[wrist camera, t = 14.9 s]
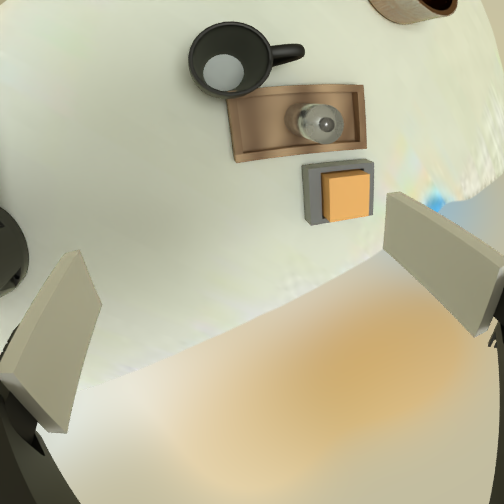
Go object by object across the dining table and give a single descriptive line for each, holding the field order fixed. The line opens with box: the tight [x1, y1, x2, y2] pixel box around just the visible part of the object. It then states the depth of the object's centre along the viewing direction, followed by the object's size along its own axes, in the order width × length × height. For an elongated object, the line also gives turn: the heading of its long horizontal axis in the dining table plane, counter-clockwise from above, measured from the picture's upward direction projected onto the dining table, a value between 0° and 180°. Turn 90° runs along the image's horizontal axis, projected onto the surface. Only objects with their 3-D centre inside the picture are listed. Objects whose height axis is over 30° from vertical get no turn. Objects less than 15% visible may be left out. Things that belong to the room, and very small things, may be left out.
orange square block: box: [321, 169, 370, 222], centre depth 40 cm, size 6×6×3 cm
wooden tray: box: [226, 84, 367, 163], centre depth 36 cm, size 18×9×2 cm, turn 97°
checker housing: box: [302, 159, 374, 226], centre depth 41 cm, size 10×8×2 cm
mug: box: [188, 22, 305, 99], centre depth 29 cm, size 8×12×10 cm
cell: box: [284, 103, 344, 144], centre depth 33 cm, size 4×4×9 cm
